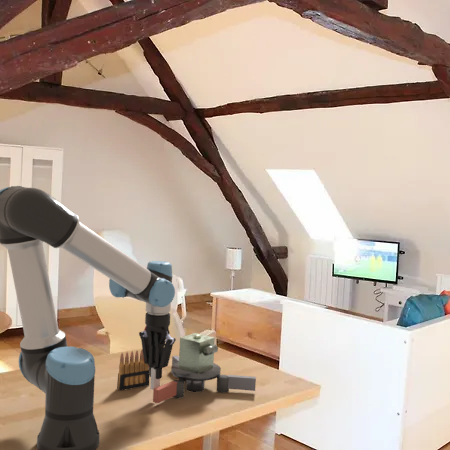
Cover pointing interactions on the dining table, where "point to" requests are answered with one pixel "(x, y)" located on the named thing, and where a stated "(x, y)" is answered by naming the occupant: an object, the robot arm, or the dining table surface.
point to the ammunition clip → (132, 372)
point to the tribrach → (196, 361)
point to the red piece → (169, 391)
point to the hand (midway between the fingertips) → (155, 388)
